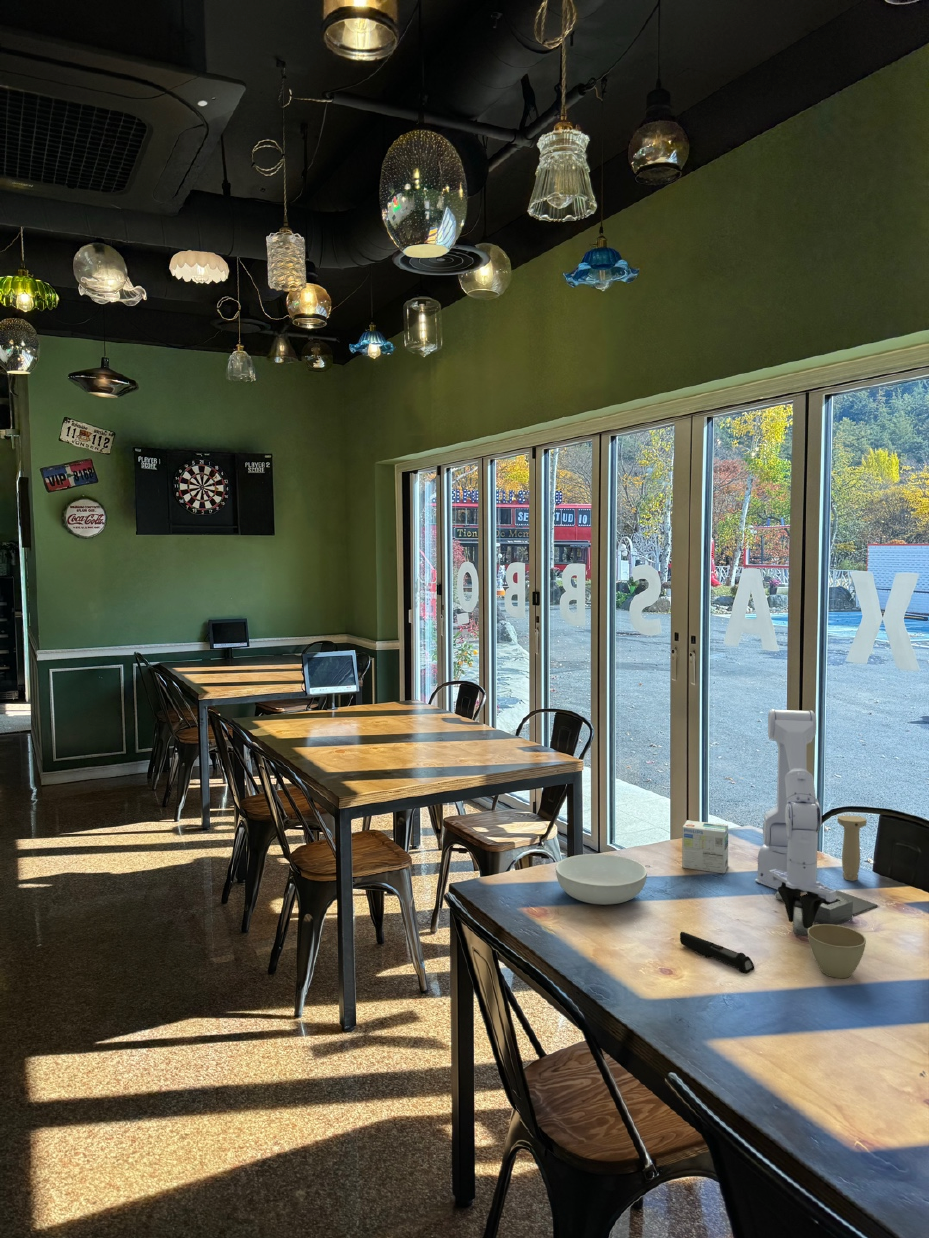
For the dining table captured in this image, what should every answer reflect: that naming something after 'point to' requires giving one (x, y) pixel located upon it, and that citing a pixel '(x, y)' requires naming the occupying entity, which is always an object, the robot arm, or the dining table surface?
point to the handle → (851, 845)
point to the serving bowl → (601, 878)
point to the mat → (857, 903)
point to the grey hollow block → (832, 911)
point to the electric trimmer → (717, 952)
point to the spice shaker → (798, 918)
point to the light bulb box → (705, 846)
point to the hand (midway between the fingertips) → (800, 923)
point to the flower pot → (836, 949)
